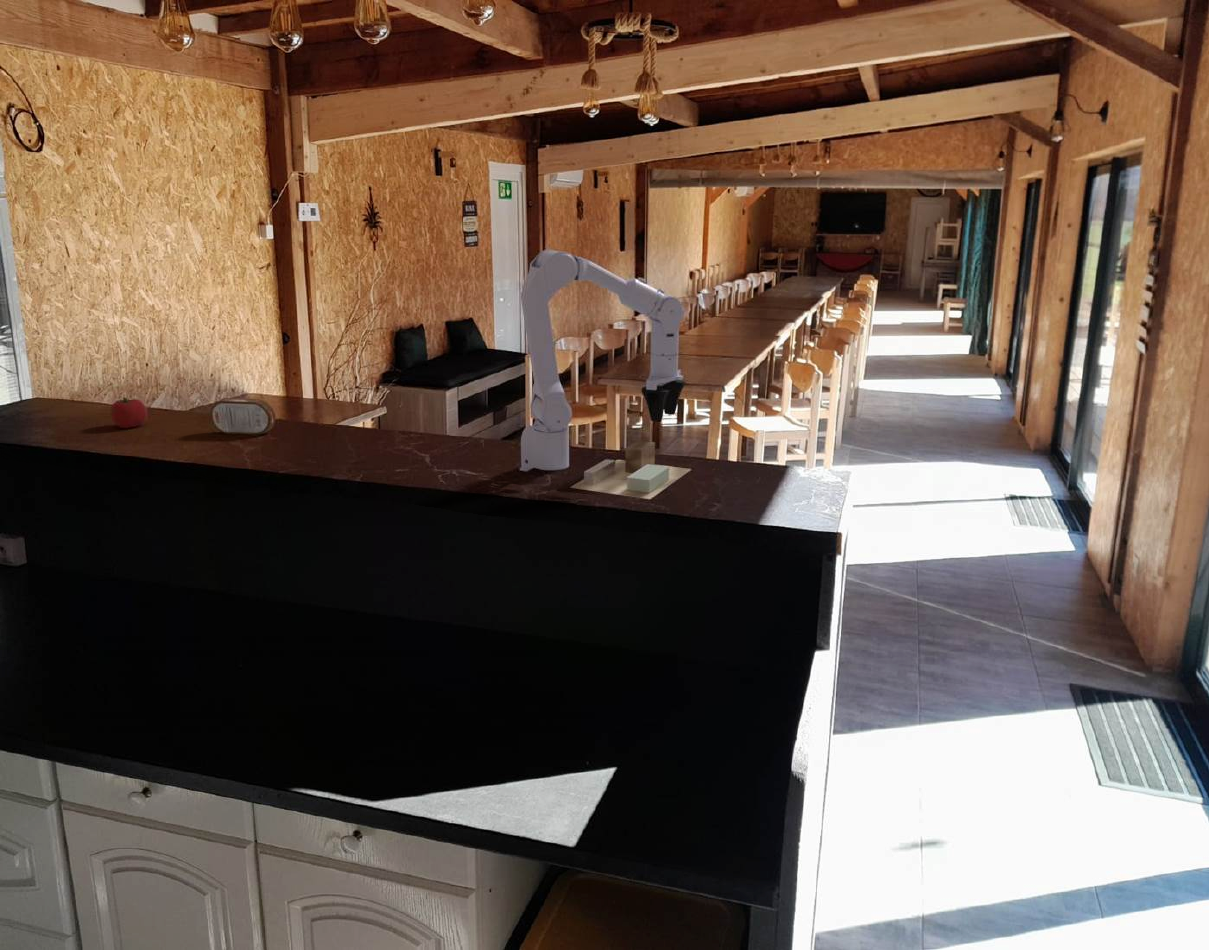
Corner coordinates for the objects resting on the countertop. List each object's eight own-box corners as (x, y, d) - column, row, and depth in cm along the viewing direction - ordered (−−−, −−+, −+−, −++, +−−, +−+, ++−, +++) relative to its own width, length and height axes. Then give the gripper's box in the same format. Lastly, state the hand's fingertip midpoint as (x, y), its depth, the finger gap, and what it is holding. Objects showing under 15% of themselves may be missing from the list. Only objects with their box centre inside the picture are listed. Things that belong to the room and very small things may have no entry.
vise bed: (570, 492, 179) (570, 487, 179) (617, 464, 198) (618, 459, 198) (649, 504, 173) (649, 499, 172) (691, 473, 192) (691, 469, 191)
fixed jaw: (584, 484, 181) (584, 471, 180) (606, 471, 190) (606, 459, 189) (593, 485, 180) (593, 473, 180) (615, 472, 189) (615, 460, 188)
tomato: (121, 432, 223) (117, 402, 221) (106, 426, 228) (101, 397, 226) (154, 426, 229) (150, 396, 227) (138, 421, 234) (134, 392, 232)
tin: (277, 433, 223) (274, 398, 221) (271, 436, 220) (268, 400, 218) (217, 431, 225) (213, 396, 222) (210, 434, 222) (206, 399, 219)
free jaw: (626, 489, 177) (626, 477, 177) (647, 476, 186) (647, 464, 185) (649, 493, 175) (649, 480, 175) (669, 479, 184) (669, 467, 183)
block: (625, 472, 189) (625, 448, 188) (639, 463, 195) (639, 440, 194) (641, 474, 188) (641, 450, 186) (654, 465, 194) (655, 442, 192)
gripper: (669, 360, 188) (668, 426, 192) (694, 350, 200) (692, 412, 204) (637, 357, 191) (636, 423, 194) (663, 348, 203) (662, 409, 207)
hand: (663, 417), depth 199 cm, fingers open, 7 cm apart
